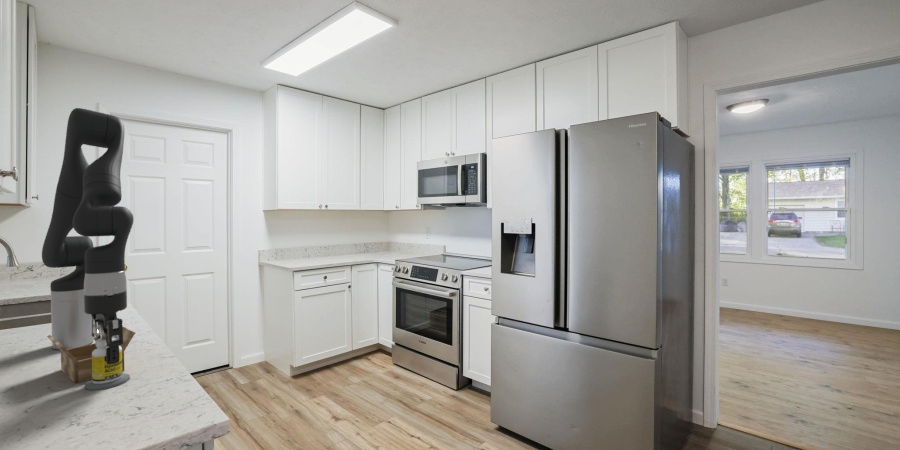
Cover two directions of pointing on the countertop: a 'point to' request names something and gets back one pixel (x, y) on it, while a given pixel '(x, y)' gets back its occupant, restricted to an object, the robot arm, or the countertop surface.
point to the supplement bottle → (105, 365)
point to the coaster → (92, 386)
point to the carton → (84, 357)
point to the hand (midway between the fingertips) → (107, 359)
